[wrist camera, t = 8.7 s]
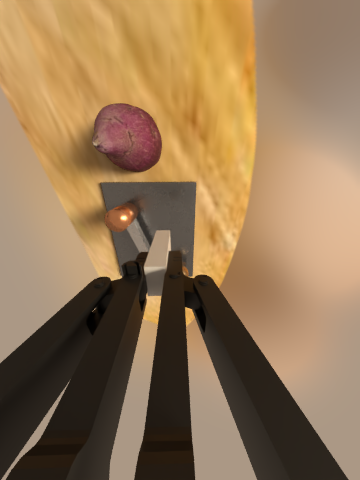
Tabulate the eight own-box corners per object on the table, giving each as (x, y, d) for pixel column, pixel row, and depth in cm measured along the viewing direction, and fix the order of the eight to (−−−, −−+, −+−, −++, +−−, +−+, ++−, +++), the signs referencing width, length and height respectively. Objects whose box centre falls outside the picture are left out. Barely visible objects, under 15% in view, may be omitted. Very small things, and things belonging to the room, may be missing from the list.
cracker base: (103, 182, 31) (82, 184, 24) (195, 181, 31) (200, 184, 24) (123, 274, 41) (113, 294, 35) (192, 273, 42) (194, 293, 35)
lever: (171, 275, 38) (170, 295, 32) (154, 280, 39) (149, 301, 33) (135, 198, 30) (124, 205, 23) (113, 206, 30) (96, 215, 24)
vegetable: (144, 178, 33) (120, 210, 22) (103, 142, 29) (46, 157, 18) (174, 139, 28) (162, 155, 17) (129, 87, 24) (72, 60, 12)
